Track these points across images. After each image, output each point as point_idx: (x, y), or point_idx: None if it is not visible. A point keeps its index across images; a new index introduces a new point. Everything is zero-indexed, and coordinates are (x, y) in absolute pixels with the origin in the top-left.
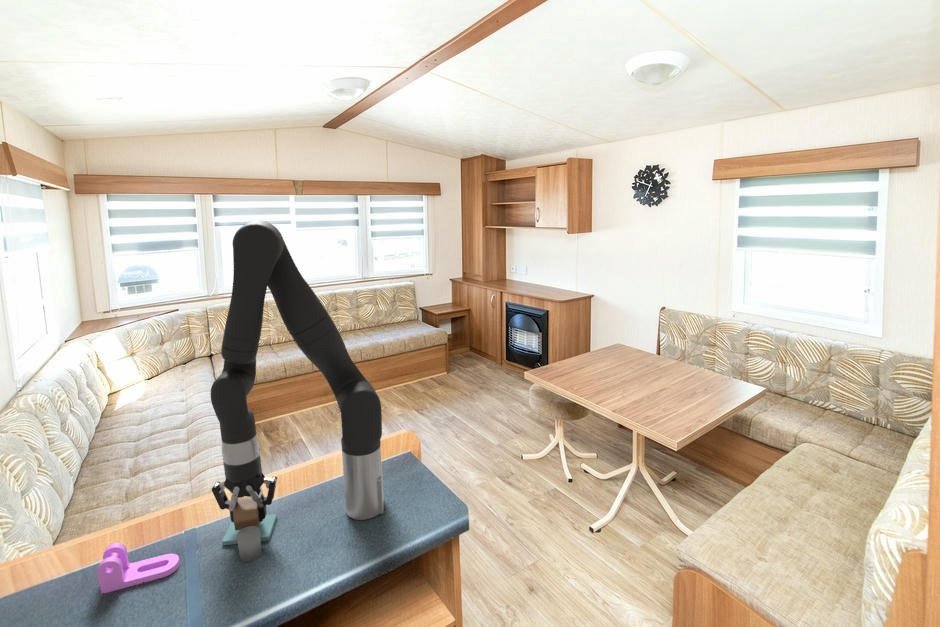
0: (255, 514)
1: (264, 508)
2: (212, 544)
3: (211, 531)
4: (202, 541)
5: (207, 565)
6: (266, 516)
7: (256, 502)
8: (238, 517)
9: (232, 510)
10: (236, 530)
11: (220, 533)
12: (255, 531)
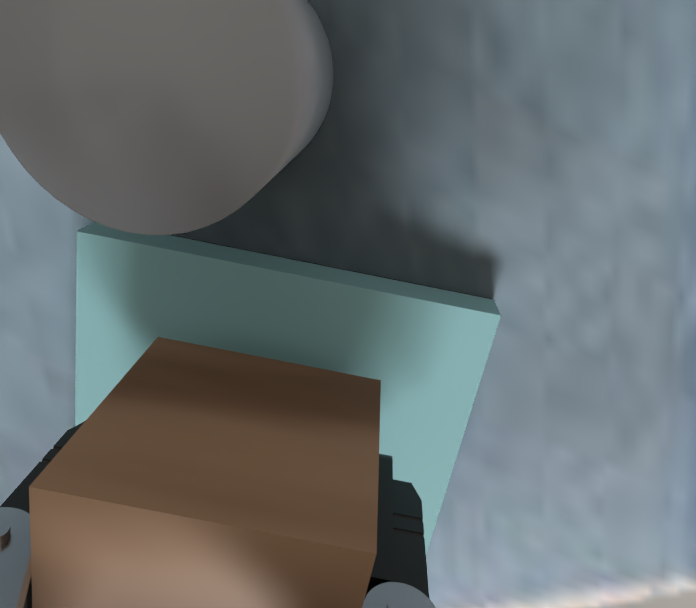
0: (95, 433)
1: (5, 506)
2: (575, 344)
3: (579, 501)
4: (652, 410)
5: (626, 57)
6: None
7: (9, 601)
8: (318, 465)
9: (389, 587)
10: (381, 419)
11: (511, 454)
12: (31, 72)
